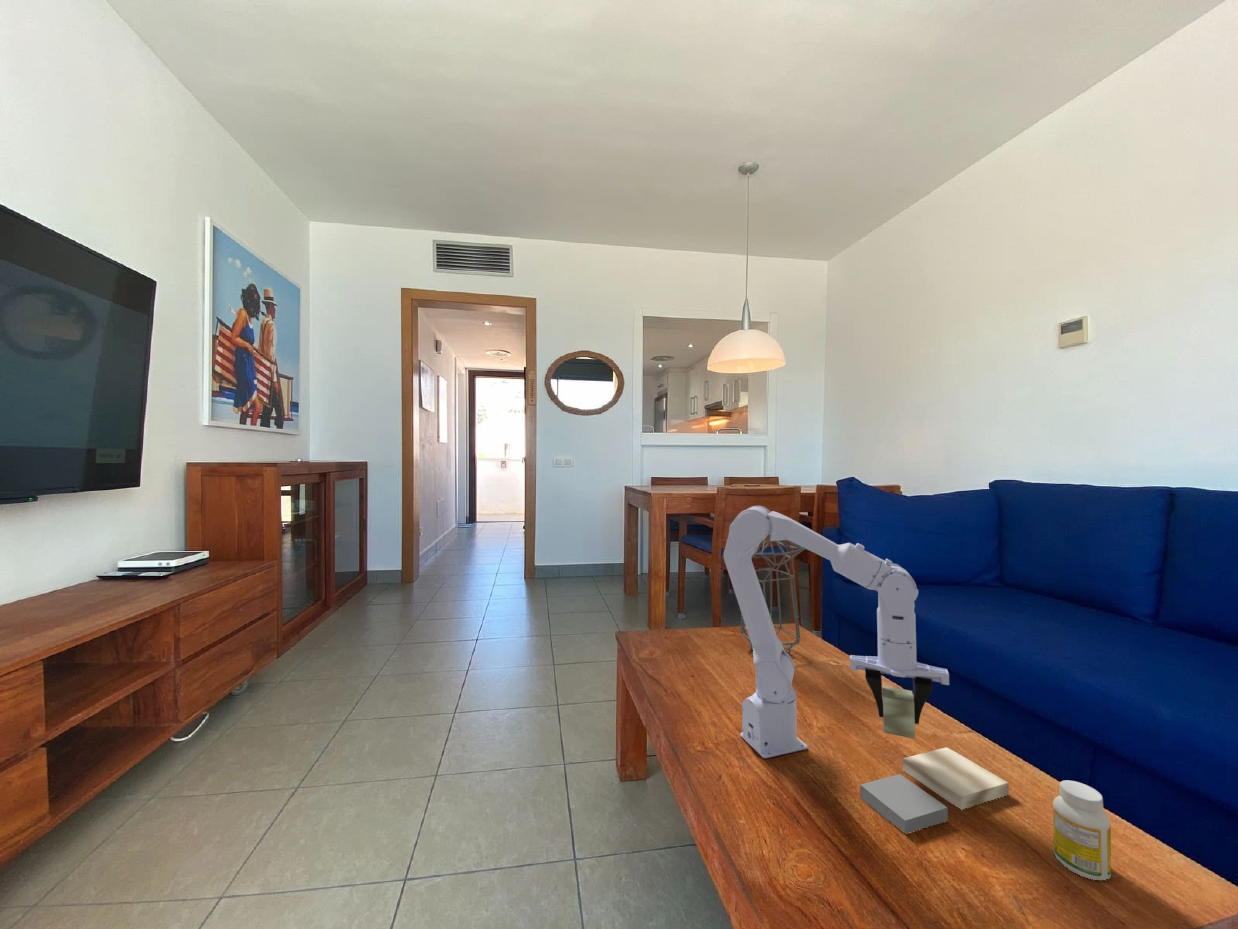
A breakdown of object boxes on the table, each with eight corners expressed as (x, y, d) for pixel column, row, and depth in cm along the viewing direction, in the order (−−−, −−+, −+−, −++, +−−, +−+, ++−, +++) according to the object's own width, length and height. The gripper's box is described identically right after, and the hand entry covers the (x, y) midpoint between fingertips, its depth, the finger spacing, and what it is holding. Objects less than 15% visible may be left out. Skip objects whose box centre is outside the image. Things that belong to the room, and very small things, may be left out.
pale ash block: (961, 810, 71) (961, 797, 71) (903, 770, 81) (902, 758, 81) (1008, 795, 74) (1008, 782, 74) (947, 758, 84) (946, 747, 84)
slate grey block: (905, 835, 67) (905, 820, 67) (860, 797, 74) (860, 784, 74) (947, 821, 69) (947, 807, 69) (900, 786, 77) (900, 774, 77)
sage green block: (883, 732, 81) (883, 697, 81) (882, 719, 85) (882, 685, 85) (915, 739, 79) (914, 702, 79) (912, 725, 83) (911, 690, 83)
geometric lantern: (812, 660, 127) (808, 529, 127) (759, 668, 123) (755, 533, 123) (777, 639, 143) (774, 521, 142) (730, 646, 138) (726, 525, 138)
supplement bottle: (1085, 885, 59) (1083, 806, 59) (1042, 850, 64) (1040, 778, 64) (1124, 881, 59) (1122, 803, 59) (1078, 846, 64) (1077, 775, 64)
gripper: (848, 639, 82) (850, 719, 81) (951, 653, 75) (953, 740, 75) (849, 626, 88) (851, 701, 88) (944, 638, 81) (946, 718, 81)
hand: (898, 717), depth 82 cm, fingers closed on sage green block, 4 cm apart
